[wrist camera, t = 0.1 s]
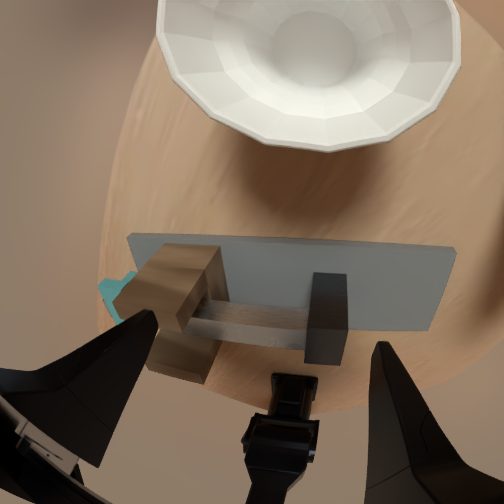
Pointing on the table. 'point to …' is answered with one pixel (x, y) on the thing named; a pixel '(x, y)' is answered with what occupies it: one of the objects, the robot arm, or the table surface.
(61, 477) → the robot arm
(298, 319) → the shaft
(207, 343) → the bearing block
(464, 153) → the table surface
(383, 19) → the cup
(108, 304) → the spacer
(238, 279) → the base board
